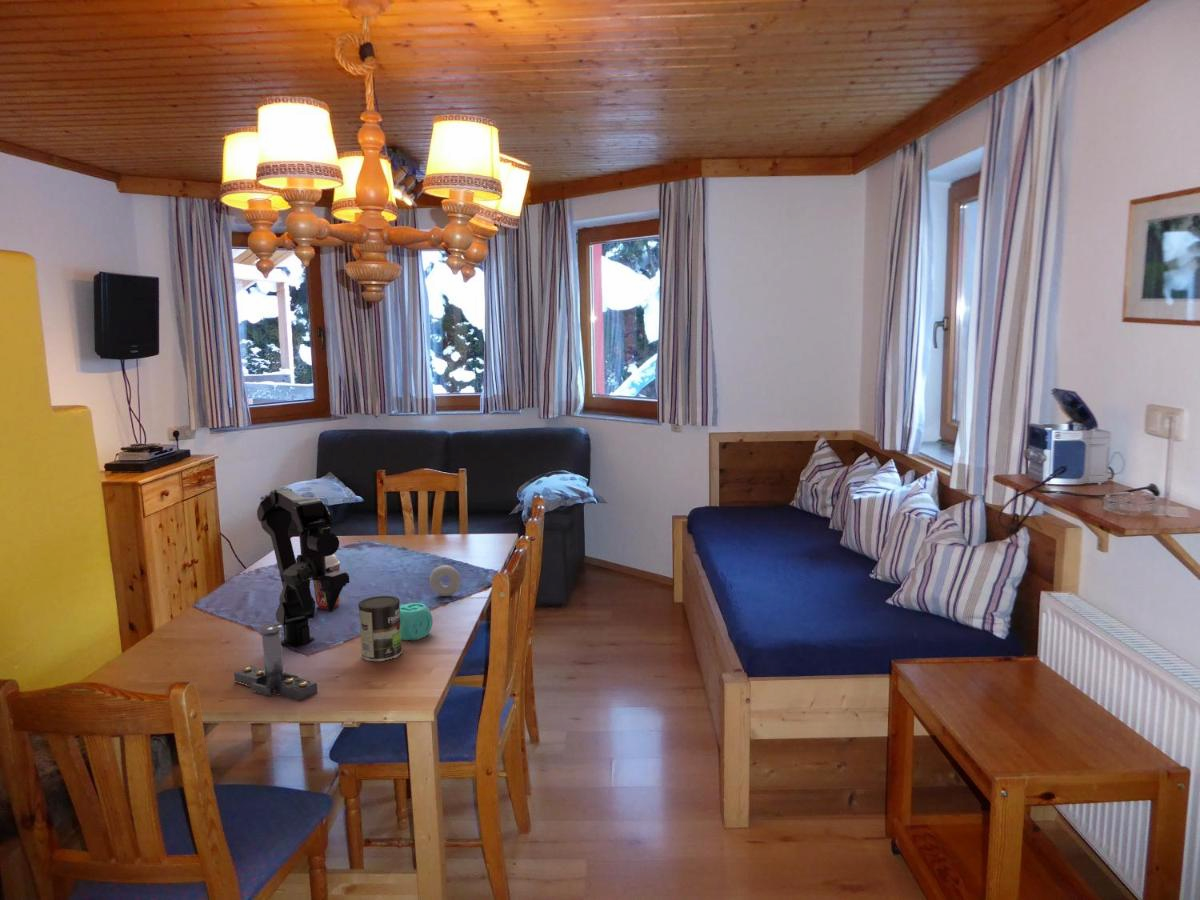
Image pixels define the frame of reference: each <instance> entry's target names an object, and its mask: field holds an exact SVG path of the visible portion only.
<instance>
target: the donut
mask: <svg viewBox="0 0 1200 900" xmlns="http://www.w3.org/2000/svg"><path fill="white" fill-rule="evenodd" d="M443 577H447V578H448V579H449V584H448V585H445V584H443V583H442V581H441V579H442V578H443ZM461 583H462V578H461V575H460V573H459V571H458V570H457V569H456V568H454V567H453V566H451V565H447V564H445V565H439V566H437V567H435V568H434V569H433V570H432V571H431V573H430V577H429V585H430V587H431V589H432V591H433V592H434V593H435V594H436V595H438V596H441V597H445V596H446V597H451V596H453V595H455V594H456V593H457V592H459V590H460V589H461V588H460V587H461Z"/></svg>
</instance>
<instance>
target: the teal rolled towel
mask: <svg viewBox="0 0 1200 900" xmlns="http://www.w3.org/2000/svg"><path fill="white" fill-rule="evenodd" d="M433 623H434V621H433V616H432V612H431V609H429V608H428V606H427V605H426V604H424V603H421V602H420V603H419V602H408V603H405V604H401V605H400V625H401V640H402V639H403V641H408V640H411V641H416V640H415V639H418V640H420V639H419V638H422V639H424V638H425V636H426V637H427V636H428V635H429V634H430V632H431V631H432V627H433ZM423 637H424V638H423Z"/></svg>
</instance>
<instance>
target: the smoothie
mask: <svg viewBox="0 0 1200 900" xmlns="http://www.w3.org/2000/svg"><path fill="white" fill-rule="evenodd" d="M325 561H326V567H329V568H330V572H327V573H326V574H329V573H332V572H335V571H340V569H341V568H340V567H341V565H340V563H341V562H340V560H339V558H338V556H337V555H336V553H334V554H333V555H330V556H326V557H325ZM312 582H313V589H314V597H315V598H314V599H315V605H316V606H318V609H320V610H328V608H327V601H326V594H325V592H324V591H323V590H321V588H323V586H322V585H321V581H315V580H312ZM340 594H341V593H340ZM340 594H339V597H338V599H337V601H336V604H335V607H334V609H335V608H337V607H338V606H339V603H340V599H341V597H340Z"/></svg>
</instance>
